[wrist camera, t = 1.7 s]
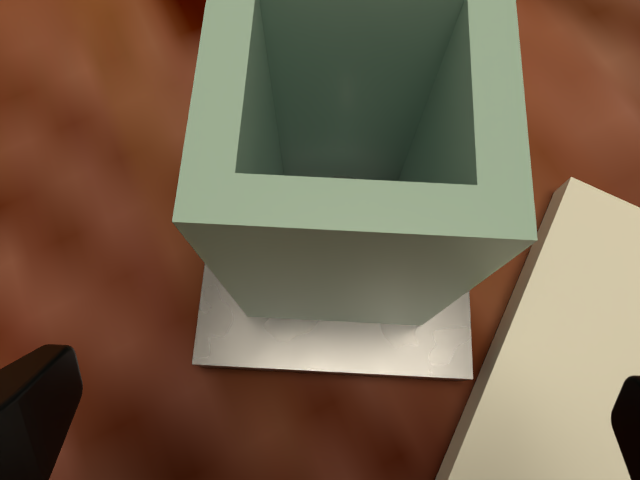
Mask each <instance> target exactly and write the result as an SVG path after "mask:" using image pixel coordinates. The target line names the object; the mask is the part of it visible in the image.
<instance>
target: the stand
mask: <svg viewBox="0 0 640 480" xmlns="http://www.w3.org/2000/svg"><path fill="white" fill-rule="evenodd" d="M330 178H344V179H356V178H353V177H350V176H334V177H330ZM192 364H193V365H196V366H199V367H207V368H226V369H244V370H263V371H282V372H301V373H319V374H338V375H357V376H376V377H394V378H413V379H432V380H450V381H465V380H472V379H473V367H472V344H471V321H470V298H469V291H468V292H467V293H465V294H464V295H463V296H461V297H460V298H459V299H457V300H456V301H455V302H453V303H452V304H450V305H449V306H448V307H446V308H445V309H444V310H442V311H441V312H440V313H438V314H437V315H435V316H434V317H433V318H431V319H430V320H429V321H427V322H426V323H425V324H423V325H422V326H418V325H399V324H380V323H360V322H341V321H322V320H303V319H284V318H265V317H247V316H246V314H245V313H244V312H243V311H242V309H241V308H240V307H239V306H238V304H237V303H236V302H235V300H234V299H233V298H232V297H231V295H230V294H229V293H228V292H227V290H226V289H225V288H224V287H223V285H222V284H221V283H220V282H219V280H218V279H217V278H216V277H215V275H214V274H213V273H212V271H211V270H210V269H209V268H208V266H207V265H206V264H205V267H204V275H203V283H202V290H201V298H200V306H199V314H198V321H197V329H196V337H195V345H194V352H193V360H192Z"/></svg>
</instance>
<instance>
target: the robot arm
mask: <svg viewBox="0 0 640 480" xmlns="http://www.w3.org/2000/svg"><path fill="white" fill-rule="evenodd" d="M82 390H83V384H82V379H81V374H80V370H79V366H78V361H77V357H76V353H75V350H74V349H73V348H72V347H71V346H69V345H55V344H48V345H43V346H41V347H39V348H38V349H36V350H34V351H32V352H31V353H29V354H27V355H25V356H23V357H22V358H20V359H18V360H16V361H14V362H13V363H11V364H9V365H7V366H5V367H4V368H2V369H0V480H49V478H50V475H51V473H52V470H53V468H54V465H55V463H56V460H57V458H58V455H59V453H60V450H61V447H62V445H63V442H64V440H65V437H66V435H67V432H68V430H69V427H70V425H71V422H72V419H73V417H74V414H75V412H76V409H77V407H78V404H79V402H80V399H81V396H82ZM611 425H612V429H613V431H614V434H615V437H616V440H617V442H618V445H619V448H620V451H621V453H622V456H623V459H624V462H625V464H626V467H627V470H628V473H629V475H630V478H631V480H640V376H639V375H632V376H629V377H628V378H627V379H625V381H624V383H623V385H622V388H621V390H620V392H619V395H618V397H617V399H616V402H615V404H614V407H613V409H612V412H611Z"/></svg>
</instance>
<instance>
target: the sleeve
mask: <svg viewBox="0 0 640 480" xmlns="http://www.w3.org/2000/svg"><path fill="white" fill-rule="evenodd" d="M334 176H350V177H353V178H356V179H344V178H330V177H334ZM172 222H173V224H174V225H175V226H176V227H177V229H178V230H179V231H180V232H181V234H182V235H183V236H184V237H185V239H186V240H187V241H188V242H189V244H190V245H191V246H192V248H193V249H194V250H195V251H196V253H197V254H198V255H199V256H200V258H201V259H202V260H203V261H204V263H205V264H206V265H207V266H208V268H209V269H210V270H211V271H212V273H213V274H214V275H215V277H216V278H217V279H218V280H219V282H220V283H221V284H222V285H223V287H224V288H225V289H226V290H227V292H228V293H229V294H230V295H231V297H232V298H233V299H234V300H235V302H236V303H237V304H238V306H239V307H240V308H241V309H242V311H243V312H244V313H245V314H246V316H247V317H265V318H284V319H303V320H322V321H341V322H360V323H380V324H399V325H418V326H422V325H423V324H425V323H426V322H427V321H429V320H430V319H431V318H433V317H434V316H435V315H437V314H438V313H440V312H441V311H442V310H444V309H445V308H446V307H448V306H449V305H450V304H452V303H453V302H455V301H456V300H457V299H459V298H460V297H461V296H463V295H464V294H465V293H467V292H468V291H469V290H471V289H472V288H474V287H475V286H476V285H478V284H479V283H480V282H482V281H483V280H484V279H486V278H487V277H489V276H490V275H491V274H493V273H494V272H495V271H497V270H498V269H499V268H501V267H502V266H503V265H505V264H506V263H508V262H509V261H510V260H512V259H513V258H514V257H516V256H517V255H518V254H520V253H521V252H523V251H524V250H525V249H527V248H528V247H529V246H531V245H532V244H533V243H535V242H536V241H538V239H537V228H536V217H535V206H534V195H533V184H532V173H531V162H530V151H529V140H528V129H527V118H526V107H525V96H524V85H523V74H522V63H521V52H520V41H519V30H518V19H517V8H516V0H206V6H205V12H204V18H203V25H202V31H201V38H200V44H199V51H198V57H197V64H196V70H195V77H194V83H193V90H192V96H191V103H190V109H189V116H188V122H187V129H186V135H185V141H184V148H183V154H182V161H181V167H180V174H179V180H178V187H177V193H176V200H175V206H174V213H173V219H172Z"/></svg>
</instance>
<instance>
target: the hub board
mask: <svg viewBox="0 0 640 480" xmlns="http://www.w3.org/2000/svg"><path fill="white" fill-rule="evenodd" d="M537 239H538V241H536V242H535V243H533V244H532V247H531V249H530V252H529V254H528V257H527V259H526V261H525V264H524V266H523V269H522V271H521V273H520V276H519V278H518V281H517V283H516V285H515V288H514V290H513V293H512V295H511V298H510V300H509V302H508V305H507V307H506V310H505V312H504V314H503V317H502V319H501V322H500V324H499V327H498V329H497V331H496V334H495V336H494V339H493V341H492V343H491V346H490V348H489V351H488V353H487V355H486V358H485V360H484V363H483V365H482V368H481V370H480V372H479V375H478V377H477V380H476V382H475V384H474V387H473V389H472V392H471V394H470V396H469V399H468V401H467V404H466V406H465V409H464V411H463V413H462V416H461V418H460V421H459V423H458V425H457V428H456V430H455V433H454V435H453V438H452V440H451V442H450V445H449V447H448V450H447V452H446V454H445V457H444V459H443V462H442V464H441V466H440V469H439V471H438V474H437V476H436V479H435V480H631V478H630V475H629V473H628V470H627V467H626V464H625V462H624V459H623V456H622V453H621V451H620V448H619V445H618V442H617V440H616V437H615V434H614V431H613V429H612V425H611V412H612V409H613V407H614V404H615V402H616V399H617V397H618V395H619V392H620V390H621V388H622V385H623V383H624V381H625V379H627V378H628V377H629V376H632V375H639V376H640V208H639V207H637V206H635V205H632V204H630V203H628V202H626V201H624V200H621V199H619V198H617V197H615V196H612V195H610V194H608V193H606V192H603V191H601V190H599V189H597V188H595V187H592V186H590V185H588V184H586V183H583V182H581V181H579V180H577V179H575V178H572V177H571V178H569V179H568V180H567V181H566V182H565V183H564V184H563V185H562V186H560V187H559V188H558V189H557V190H556V191H555V192H554V194H553V196H552V199H551V201H550V203H549V206H548V208H547V211H546V213H545V215H544V218H543V220H542V223H541V225H540V228H539V230H538V232H537Z"/></svg>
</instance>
